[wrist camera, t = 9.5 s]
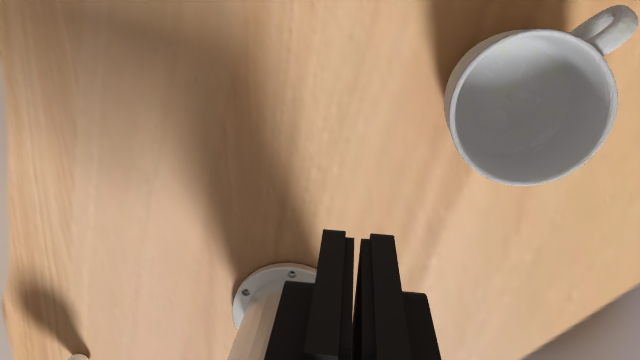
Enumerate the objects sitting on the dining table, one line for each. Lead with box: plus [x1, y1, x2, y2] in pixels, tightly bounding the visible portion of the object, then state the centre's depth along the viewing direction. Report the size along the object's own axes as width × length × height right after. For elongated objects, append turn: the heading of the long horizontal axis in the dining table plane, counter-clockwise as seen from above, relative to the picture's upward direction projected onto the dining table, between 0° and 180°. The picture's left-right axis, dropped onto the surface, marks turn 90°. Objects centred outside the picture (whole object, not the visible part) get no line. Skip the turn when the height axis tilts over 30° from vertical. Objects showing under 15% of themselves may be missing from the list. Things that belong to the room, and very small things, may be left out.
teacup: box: [444, 5, 638, 186], centre depth 33 cm, size 14×11×8 cm
